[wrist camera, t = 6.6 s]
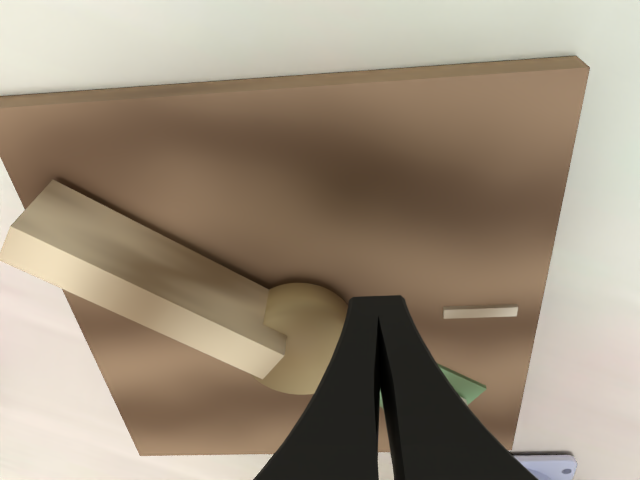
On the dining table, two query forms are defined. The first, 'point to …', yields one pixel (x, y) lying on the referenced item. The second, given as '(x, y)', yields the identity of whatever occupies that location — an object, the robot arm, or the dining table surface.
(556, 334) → the dining table surface
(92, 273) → the dial lever
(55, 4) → the dining table surface
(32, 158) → the dial board
